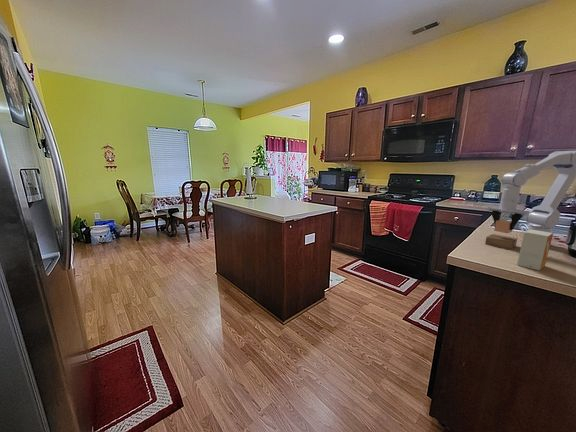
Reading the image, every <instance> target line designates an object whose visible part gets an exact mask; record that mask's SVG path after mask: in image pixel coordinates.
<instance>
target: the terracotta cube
mask: <svg viewBox="0 0 576 432" xmlns="http://www.w3.org/2000/svg"><path fill="white" fill-rule="evenodd" d="M510 225H511V220H508V219H507V220H506V219H501V218H500V219H499V220H496V223H495V226H494V230H493V231H494V232H497V233H498V232H499V233H504V234H510V233H512V232H513V230H510Z"/></svg>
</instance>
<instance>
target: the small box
mask: <svg viewBox="0 0 576 432" xmlns="http://www.w3.org/2000/svg"><path fill="white" fill-rule="evenodd" d="M553 236H554V233H553V232H551V233H550V232H544V231H538V230H532V229H530V230H528V229H527V230H526V231H524V232H523V236H522V241H521V246H520V251H519V254H518V259H517V263H516V265H517V266H520V267H523V268H528V269H531V270H536V271H541V270H542V269H543V268H544V267H545V266H546V264H547V263H546V262H547V260H548V254H549V251H550V247H551V245H552V239H553ZM550 244H551V245H550Z"/></svg>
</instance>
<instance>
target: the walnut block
mask: <svg viewBox="0 0 576 432" xmlns="http://www.w3.org/2000/svg"><path fill="white" fill-rule="evenodd" d="M517 242H518V238H516V237H512V236H506V235H501V234H495V233H492V234H489V235H488V236H486V238H485V243H484V245H488V246H493V247H495V248H501V249H504V250H505V249H506V250H511V249H513V248H515V247H516V246H517Z"/></svg>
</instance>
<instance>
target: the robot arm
mask: <svg viewBox="0 0 576 432" xmlns="http://www.w3.org/2000/svg"><path fill="white" fill-rule="evenodd" d="M550 167H552V168H553V169H554V171H556V172H558V175H557V177H556V178H555V180H554V182H553V184H552V185H551V187H550V188H549V190H548V191H547V193H546V195H545V196H544V198H543V200H542V201H541V203H540V204H539V205H537V206H534V207H532V208H531V210H530V211H529V210H528V211H527V210H525V209H524V210H523V209H517V208H518V207H517V206H518V204H519V203H518V202H519V199H520V198H519V196H520V192H521V188H522V187H523V186H524V185H525V184H526V182H527V181H528V180H530V179H532V178H534V177H536V176H538V175H539V174H540V172H541V171H543V170H544V169H545V170H546V169H547V168H550ZM575 179H576V150H565V151H564V150H562V151H561V150H556V151H553V152H551V153H549V154H548V156H546V157H545V158H543V159H542V160H540V161H538V162H536V163H527V164H524V166H523V167H521V168H519V169H516V170H514V171H513V172H508V173H505V174H504V175H502V178H501V179H500V182H501V184H502V185H501V188H502V194H501V198H500V203H499V206H487V208H486V211H488V212H490V215H491V217H492V219H493V220H492V221H493V224H494V227H495V223H496V220H500V219H501V215H502V213H503V214H511V220H510V221H511V225H510V230H512V231H513V230H514V229H515V227H516V225H517V223H518V222H519V221H520V220H521V219H522V218H523V217H524V216H525V222H526V223H527V225H528V228H527V231H528V230H530V229H532V230H538V231H544V232H550V233H552V229H553V228H554V227H556V226H557V225H558V223H559V220H560V217H561V215H562V213H561V212H560V211H559V210H558V207H559V205H560V204H561V202H562V201H563V199H564V197H565V195H566V194H567V192H568V191H569V189H570V188H571V186H572V184H573V183H574V181H575ZM551 245H552V243H551V244H550V246H551Z"/></svg>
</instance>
